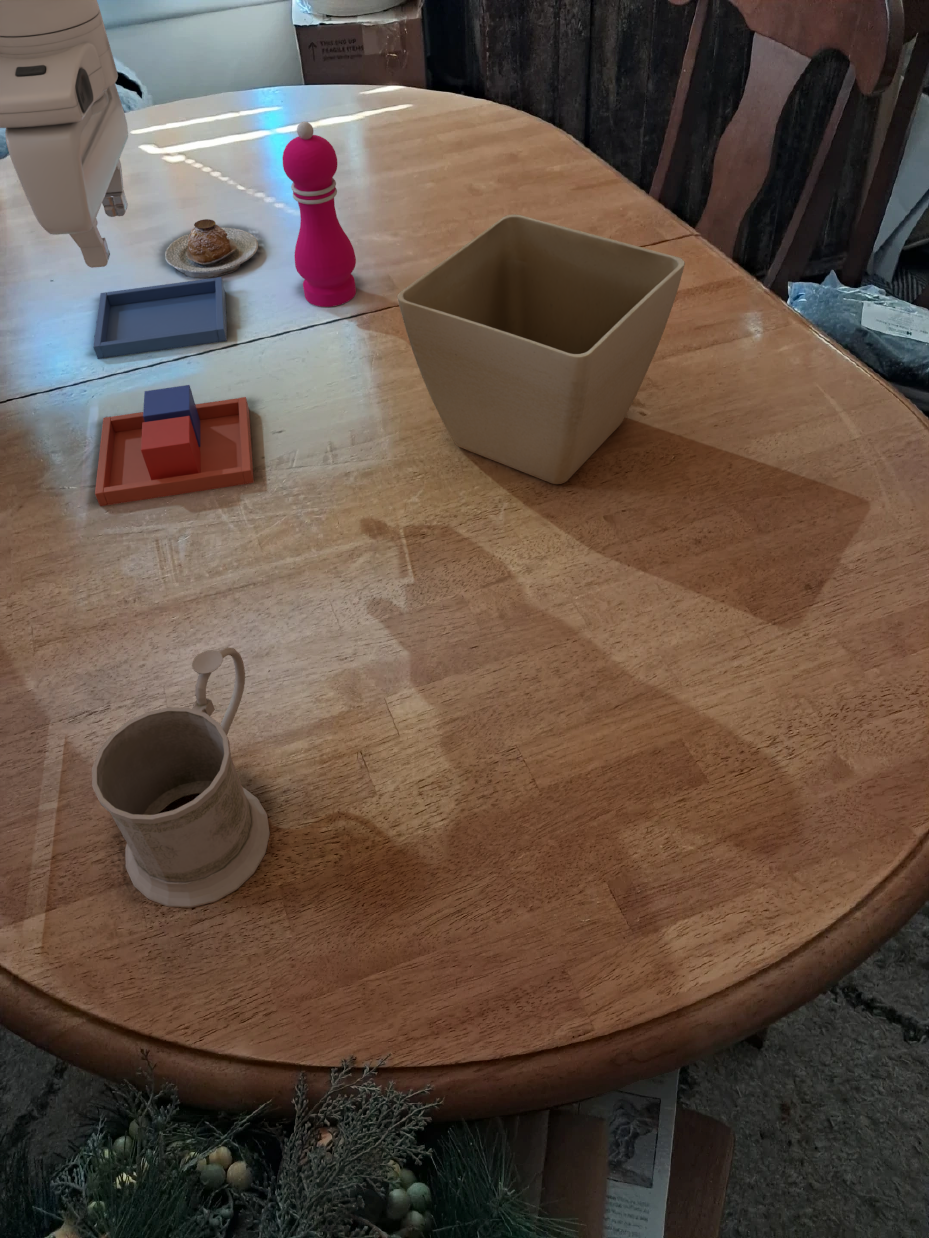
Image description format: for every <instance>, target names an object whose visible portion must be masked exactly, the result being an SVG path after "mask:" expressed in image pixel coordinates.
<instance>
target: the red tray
mask: <svg viewBox="0 0 929 1238" xmlns="http://www.w3.org/2000/svg"><path fill="white" fill-rule="evenodd" d="M247 399H248V398H247V396H241V397H237V398H228V399H222V400H217V401H216V400H215V401H209V402H202V403H195V405H196V408H197V412H198V415H199V419H200V447H199V449H200V453H201V473H196V474H190V475H183V476H177V477H170V478H164V479H157V480H151V478H150V475H149V472H148V469H147V466H146V463H145V461H144V458H143V455H142V452H141V439H142V423H143V422H145V421H144V418H143V411H140V412H134V413H126V414H119V415H112V416H106V417H105V416H104V417H102V424H101V425H102V427H101V435H100V444H99V453H98V462H97V471H96V480H95V490H94V496H95V498H96V500H97V502H98V503H97V504H98V505H99V507H106V506H111V505H118V504H126V503H132V502H138V501H145V500H151V499H152V500H153V499H158V498H165V497H172V496H177V495H183V494H192V493H197V492H203V491H210V490H217V489H224V488H229V487H237V486H242V485H243V486H244V485H249V484H254V482H255V479H254V466H253V465H254V464H253V450H252V433H251V420H250V407H249V404H248V400H247Z"/></svg>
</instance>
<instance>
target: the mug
mask: <svg viewBox="0 0 929 1238" xmlns="http://www.w3.org/2000/svg"><path fill="white" fill-rule="evenodd" d="M228 656H230V657H231V658H232V661H233V666H234V673H235V674H234V686H233V690H232V694H231V698H230V700H229V702H228V706H227V708H226V710H225V713H224V716H223V718H222V719H221V722H218V721H217V720H216V719H215V718H213V717H212V714H214V711H215V709H216V708H215V706H214V703H213V701H212V699H209V698H207V687H208V682H209V679H210V677H211V675H212V673H213V672H215V671H217V670H218V669H219V668H220V667H221V666H222V664H223V661H224V658H226V657H228ZM191 667H192V670H193V671H194V673H196V674H198V676H197V679H196V683H195V699H196V700H195V701H194V703H193V704H192V707H170V706H169V707H163V708H159V709H154V710H150V711H147V712H145V713H143V714H140V715H138V716H135V717H134V718H132V719H130V720H128V721H126V722H125V723H124V724H123V725H121V726H120V727H118V728H117V729H116V730H115V731H113V732H112V733H111V734H110V735H109V736H108V738H107V739H106V740H105V742H104V743H103V744H102V745H101V747H100V748H99V749H98V751H97V754H96V757H95V759H94V762H93V764H92V767H91V787H92V789H93V792H94V794H95V796H96V798H97V800H98V802H99V804H100V806H101V807H102V808H104V809H105V810H106V811H107V812H108V813H110V815H111V817H112V819H113V821H114V823H115V824H116V826H117V828H118V829H119V831H120V833H121V836H122V837H123V839H124V841H125V842H126V845H125V848H124V849H125V853H124V854H125V855H124V857H125V870H126V872H127V874H128V876H129V879H130V881H131V883H132V885H133V887H134V888H136V890H137V891H138V892H140V893H141V894H142V896H144V897H145V898H146V899H147V900H149V901H152V902H155V903H157V904H159V905H162V906H165V907H168V908H189V909H191V908H195V907H199V906H203V905H208V904H211V903H216V902H217V901H219V900H221V899H223V898H225V897H226V896H228V895H230V894H231V893H233V892H235V891H238V889H239V888H241V886H242V885H243V884H244V883H246V882H247V881H248V880H249V879H250V877H252V876H253V875H254V874H255V872H256V871H257V869H258V867H260V866H259V865H260V864H261V862H262V861H263V859H264V857H265V855H266V853H267V850H268V849H267V848H268V843H269V840H270V836H271V833H270V826H269V818H268V813H267V812H266V810H265V809H264V806H263V805H262V803H261V802H260V800H259V798H258V797H257V796H255V795H253V793H251V792H250V791H248V789H246V788H245V787H243V786H242V783H241V780H240V778H239V777H240V776H239V775H238V774H239V773H238V772H237V769H236V767H235V764H234V760H233V758H232V754H231V746H230V745H231V744H230V739H229V737H228V734H229V731H230V729H231V726H232V724H233V721H234V719H235V717H236V714H237V712H238V710H239V706H240V704H241V701H242V698H243V695H244V690H245V683H246V670H245V664H244V659H243V658H242V656H241V654H240V652H238V651H237V650H236V648H235V647H228V646H227V647H224V648H221V649H218V650H214V649H211V650H209V649H208V650H205V651H202V652H200V653H199V654H197V655H196V656H195V657H194V658H193V660H192V664H191ZM196 794H197V796H196V797H195V798H194V799H192V800H191V801H189V802H187V803H185V804H183V805H180V806H179V807H177V808H175V809H171V810H169V811H164V809H166V808H167V807H168V806H169V805H170V804H172V803H174V802H176V801H178V800H179V799H181V798H183V797H188V796H192V795H196ZM198 794H199V795H198ZM162 811H164V812H162Z"/></svg>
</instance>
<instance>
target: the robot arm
mask: <svg viewBox="0 0 929 1238" xmlns="http://www.w3.org/2000/svg"><path fill="white" fill-rule="evenodd" d="M113 55H114V54H113V52H112V48H111V44H110V41H109V37H108V34H107V30H106V27H105V23H104V19H103V16H102V12H101V9H100V5H99V1H98V0H0V129H5V136H4V137H5V141H6V147H7V151H8V154H9V157H10V160H11V163H12V165H13V168H14V171H15V173H16V175H17V178H18V181H19V183H20V186H21V187H22V190H23V192H24V194H25V197H26V199H27V201H28V204H29V206H30V208H31V211H32V213H33V215H34V217H35V219H36V221H37V222H38V224H39V225H40V226H41V227H42V228H43V230H45V232H46V233H48V234H49V235H52V236H53V235H54V236H55V235H57V236H58V235H69V236H70V237H71V239H72V240H73V241H74V243H75V244H76V245H77V246H78V248H79V249H80V251H81V254H82V257H83V260H84V263H85V265H87V267H88V268H92V269H93V268H104V267H107V265H108V263H109V261H110V256H111V251H110V250H109V246H108V243H107V240H106V237H102V235H101V232H100V231H99V229H98V224H99V222H98V219H97V217H98V215H99V212H100V209H101V207H102V206H103V210H104V213H105V215H106V216H107V217H109V218H116V217H124V215H125V214H126V212H127V210H128V206H129V204H128V200H127V197H126V193H125V189H124V179H123V169H122V163H121V156H122V154H123V151H124V148H125V146H126V145H127V144H126V143H127V141H128V139H129V127H128V122H127V117H126V114H125V111H124V107H123V104H122V101H121V100H122V99H121V97H120V94H119V92H118V88H117V85H116V82H117V80H118V77H119V74H118V70H117V67H116V62H115V59H114V56H113Z"/></svg>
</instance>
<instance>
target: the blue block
mask: <svg viewBox="0 0 929 1238" xmlns="http://www.w3.org/2000/svg"><path fill="white" fill-rule="evenodd" d="M195 404H196V402H195V399H194V394H193V391H192V388H191V385H190V384H185V385H178V386H172V387H164V388H158V389H151V390H145V391H144V396H143V410H142V412H143V418H144V421H145V422H150V421H157V420H164V419H170V418H177V417H184V416H190V419H191V423H192V426H193V429H194V433H195V436H196V439H197V443H198V446H199V447H200V419H199V415H198V412H197V408H196V405H195Z"/></svg>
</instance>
